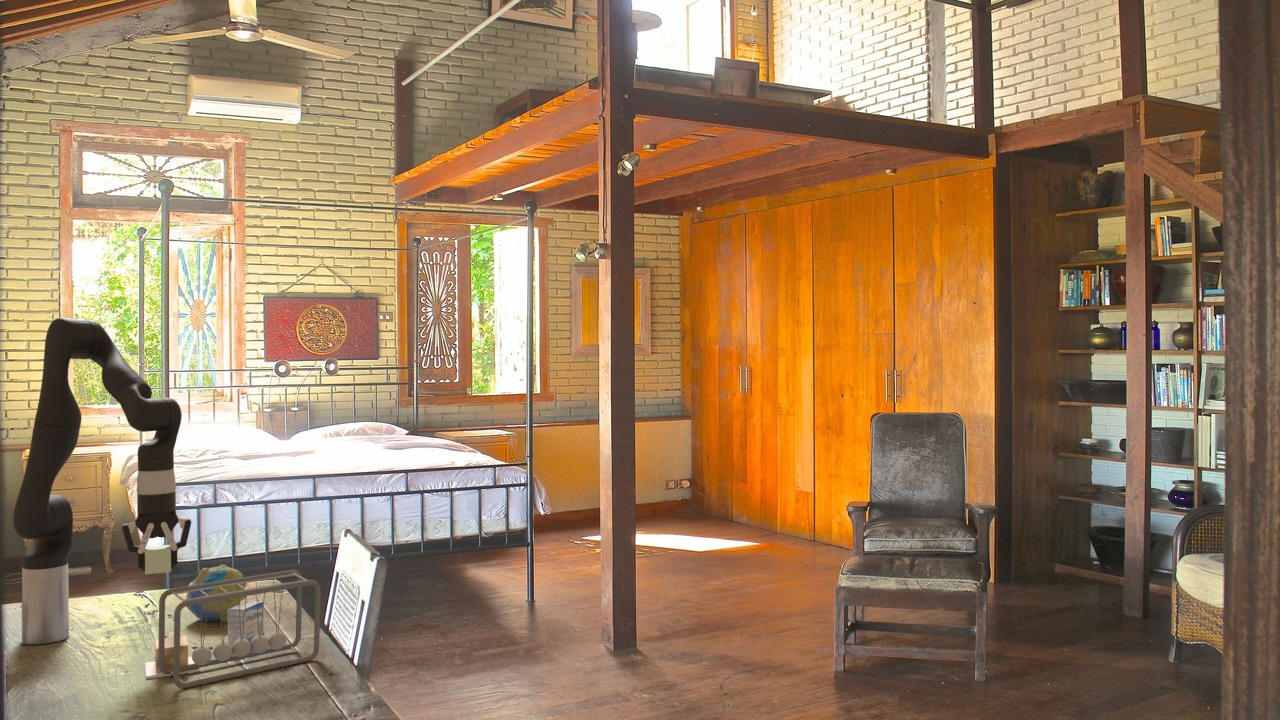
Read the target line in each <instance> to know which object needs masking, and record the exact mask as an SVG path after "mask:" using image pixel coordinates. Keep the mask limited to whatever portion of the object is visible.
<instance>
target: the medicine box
mask: <svg viewBox="0 0 1280 720" xmlns="http://www.w3.org/2000/svg"><path fill="white" fill-rule="evenodd" d="M264 608H265V607H264ZM264 608H263V601H259V600H258V614H257V600H249V601H248V600H246V609H245V602H243V603H240V620H239V605H238V606H235V607H233V608H231V609H228V610H227V619H228V622H227V643H229V644H230V645H231V647H232V645H233V643H234V642H235V641H236V640H238V639H240V623H241V638H242V632H243V639H246V640H248V641H249V642H251V640H252V639H253V638H254V637H255V636H257V635H259V634H260V630H261V635H263V636H265V609H264ZM262 610H263V618H262ZM244 611H245V619H244ZM258 618H259V632H258ZM261 620H262V628H261ZM243 621H244V630H243Z"/></svg>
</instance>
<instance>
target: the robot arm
mask: <svg viewBox="0 0 1280 720" xmlns="http://www.w3.org/2000/svg"><path fill="white" fill-rule="evenodd" d="M47 328H48V329H47V330H46V335H45V341H44V352H43V366H42V368H43V369H42V376H41V378H42V379H41V385H40V386H41V387H40V393H39V399H38V402H37V408H36V413H35V418H34V422H33V428H32V434H31V441H30V442H31V443H30V448H29V452H28V458H27V462H26V466H25V471H24V475H23V479H22V482H21V486H20V487H19V492H18V495H17V499H16V501H15V506H14V509H13V514H12V524H13V528H14V530H15V533H16V534H17V535H18V536H19V537H20V538H22V539H24V540H33V539H34V540H35V539H36V542H35V543H34V545H33V547H31V548H30V549H29V550H28V551H26V553H24V554H23V556H22V557H21V574H22V576H21V577H22V578H21V579H22V580H21V581H22V585H21V586H22V593H21V594H22V601H21V606H20V607H21V645H22V644H25V645H33V644H34V645H45V644H53V643H57V642H61V641H64V640H66V639H68V638H69V637H70V622H69V621H70V619H69V618H70V613H69V612H70V609H69V608H70V607H69V599H70V598H69V594H70V593H69V556H70V554H71V551H72V546H73V529H74V528H73V527H74V525H73V524H74V515H73V508H72V505H71V503H70V502H69V499H67V498H66V497H65V496H63V495H61V494H52V493H51V492H52V488H53V485H54V482H55V480H56V478H57V476H58V474H60V471H61V470H62V468H63V467H64V465H65V464H66V463H67V461H68V460H69V459H70V457H71V455H72V454H73V453H74V450H75V449H76V447H77V443H78V441H79V436H80V435H79V434H80V430H81V424H82V412H81V409H80V407H79V404H78V402H77V399H76V397H75V395H74V393H73V391H72V389H71V386H70V383H69V382H70V381H69V368H70V362H71V360H90V361H92V362H94V363H95V364H97V365H98V366H99V367H100V368H101V382H102V385H103V387H104V389H105V390H106V392H108V393H109V395H110V396H111V397H112V398H113V399H114V400H115V401H116V402H117V403H118V404H119V405H120V407H121V409H122V412H123V414H124V416H125V418H126V421H127V423H128V425H129V426H130V427H131V428H132V429H135V430H136V431H138V432H144V433H145V432H155V434H154V436H153V438H152V439H151V440H149V441H146V442H144V443H141V444H140V445H138V448H137V470H138V471H137V479H136V497H137V498H136V501H137V502H136V503H137V508H136V509H137V513H136V514H137V516H136V519H135V521H133V522H129V523H123V524H122V525H121V529H122V533H123V535H124V536H123V537H124V539H125V542H126V543H125V544H126V546H127V550H128V552H130V553H136V554H137V563H138V564H137V567H138V569H141V571H142V572H145V548H146V547H147V545H148V542H149V540H150V539H155V538H166V540H167V543H168V545H170V548H171V569H174V568H175V566H177V565H178V551H179V549H182V548H184V547H186V546H187V544H188V543H187V542H188V539H189V535H190V531H191V526H192V520H191V519H190V518H189V517H188V518H180V517H178V515H177V504H176V502H177V500H176V499H177V497H176V496H177V495H176V489H177V484H176V475H175V467H174V466H175V463H174V462H175V458H174V457H175V456H174V449H175V446H176V443H177V439H178V434H179V430H180V427H181V424H182V417H183V415H182V410H181V407H180V404H179V403H178V401H177V400H175V399H174V398H171V397H160V398H159V397H157V398H156V397H155V398H152V396H153V391H152V388H151V386H150V384H148V382H147V381H146V380H144V378H143V377H141V375H140V374H138V373H137V371H136V370H134V369H133V368H132V366H130V364H128V362H127V361H126V360H125V358H124V357H123V355H122V354H121V352H120V350H119V348H118V347H117V346H116V344H115V342H114V341H113V340H112V338H111V336H110V335H109V334H108V332H107V331H106V329H105V328H104V327H103V326H102V325H101V324H100V323H99V322H97V321H96V320H92V319H86V318H84V319H83V318H72V317H58V318H55V319H54V320H52V321H51V323H50V324H49V326H48V327H47ZM177 524H179V528H180V529H181V535H180V540H179V541H176V540H175V538H174V535H173V534H172V532H173V530H174V528H175V527H176V526H177ZM134 528H137V529H138V530H139V531H140V532H141V533H142V536H141V539H140V542H139V544H138V545H135V544H134V543H135V542H134V541H133V537H132V534H133V533H134V532H135V529H134Z"/></svg>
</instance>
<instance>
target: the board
mask: <svg viewBox="0 0 1280 720" xmlns="http://www.w3.org/2000/svg"><path fill="white" fill-rule="evenodd" d="M189 664H194V662H193V660H192V656H188V665H189ZM144 670H145V679H146V680H151V679H157V678H158V677H159V678H165V676H166V677H172V676H171V675H172V674H165V673H156V665H155V660H154V661H148V662H147V661H146V662H144ZM194 672H195V673H200V668H197V669H192V670H187V671H182V672H180V674H181V675H186V674H185V673H188V674H194ZM150 678H151V679H150ZM159 678H158V679H159Z"/></svg>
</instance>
